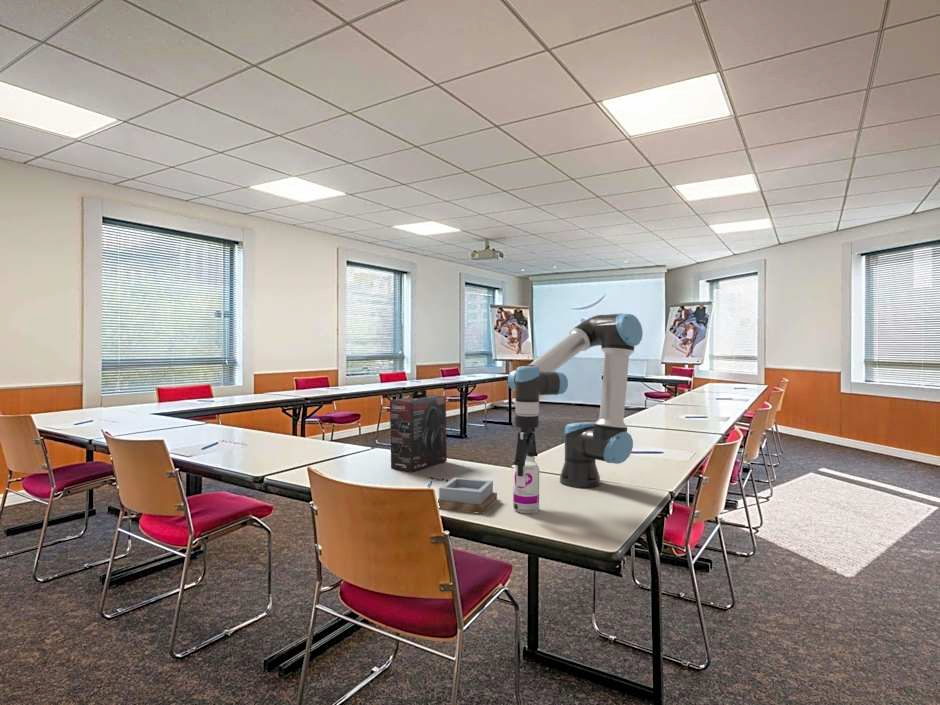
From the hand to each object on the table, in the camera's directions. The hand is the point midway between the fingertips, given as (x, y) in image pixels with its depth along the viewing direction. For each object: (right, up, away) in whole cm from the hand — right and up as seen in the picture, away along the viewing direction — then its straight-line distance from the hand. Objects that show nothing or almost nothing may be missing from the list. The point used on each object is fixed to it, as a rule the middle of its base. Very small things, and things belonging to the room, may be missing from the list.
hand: (525, 481), depth 168 cm
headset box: (-40, -8, +62) cm, 74 cm away
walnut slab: (-19, -10, +7) cm, 22 cm away
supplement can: (0, -10, 0) cm, 10 cm away
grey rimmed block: (-19, -7, +7) cm, 21 cm away
